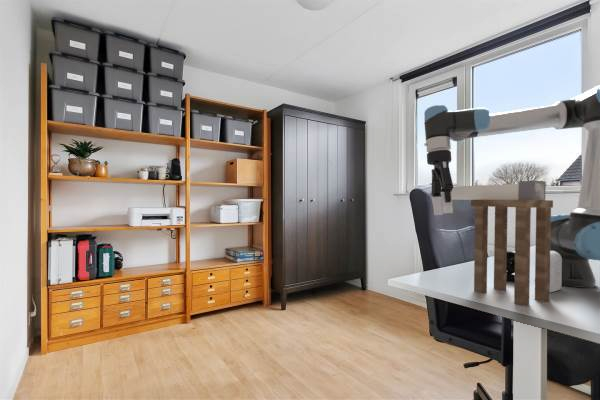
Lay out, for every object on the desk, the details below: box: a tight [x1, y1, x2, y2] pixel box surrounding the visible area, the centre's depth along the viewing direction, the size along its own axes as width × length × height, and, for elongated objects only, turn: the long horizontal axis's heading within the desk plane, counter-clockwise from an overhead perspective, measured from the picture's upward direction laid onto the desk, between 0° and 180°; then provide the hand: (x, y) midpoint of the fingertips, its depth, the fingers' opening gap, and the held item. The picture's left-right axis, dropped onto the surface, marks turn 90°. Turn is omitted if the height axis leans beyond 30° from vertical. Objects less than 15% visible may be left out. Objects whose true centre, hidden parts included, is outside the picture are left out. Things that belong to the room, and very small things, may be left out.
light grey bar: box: [452, 180, 546, 201], centre depth 96 cm, size 5×27×5 cm, turn 23°
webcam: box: [506, 250, 515, 283], centre depth 110 cm, size 8×8×10 cm
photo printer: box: [550, 251, 563, 293], centre depth 97 cm, size 10×4×12 cm, turn 124°
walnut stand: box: [470, 199, 554, 307], centre depth 91 cm, size 12×16×28 cm
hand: (442, 214), depth 103 cm, fingers open, 13 cm apart
